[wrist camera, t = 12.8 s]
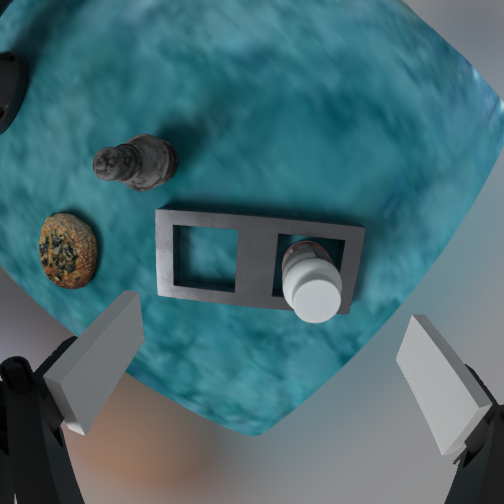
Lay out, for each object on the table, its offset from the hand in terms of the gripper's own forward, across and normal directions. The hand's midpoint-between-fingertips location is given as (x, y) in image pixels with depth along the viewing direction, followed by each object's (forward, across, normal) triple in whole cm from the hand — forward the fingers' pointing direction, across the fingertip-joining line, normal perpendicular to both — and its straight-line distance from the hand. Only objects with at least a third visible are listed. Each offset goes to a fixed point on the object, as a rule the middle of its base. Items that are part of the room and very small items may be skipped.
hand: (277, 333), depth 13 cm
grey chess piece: (+20, -14, +7) cm, 25 cm away
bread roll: (+20, -27, -5) cm, 34 cm away
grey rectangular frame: (+19, -2, -3) cm, 20 cm away
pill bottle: (+19, +4, -3) cm, 20 cm away
